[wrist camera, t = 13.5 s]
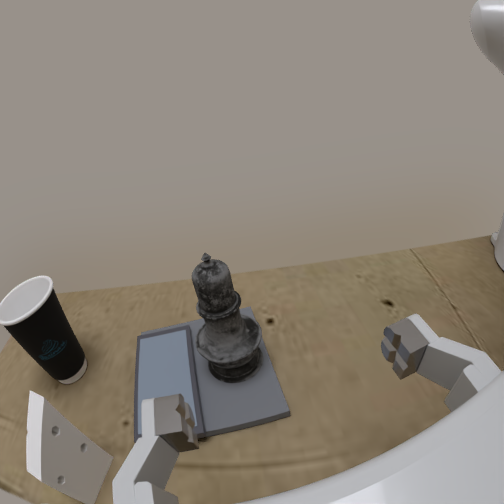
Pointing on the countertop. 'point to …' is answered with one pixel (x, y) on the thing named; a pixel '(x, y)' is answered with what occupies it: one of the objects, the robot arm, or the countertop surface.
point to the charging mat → (236, 392)
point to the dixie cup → (43, 329)
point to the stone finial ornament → (225, 325)
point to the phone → (167, 373)
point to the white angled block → (63, 453)
